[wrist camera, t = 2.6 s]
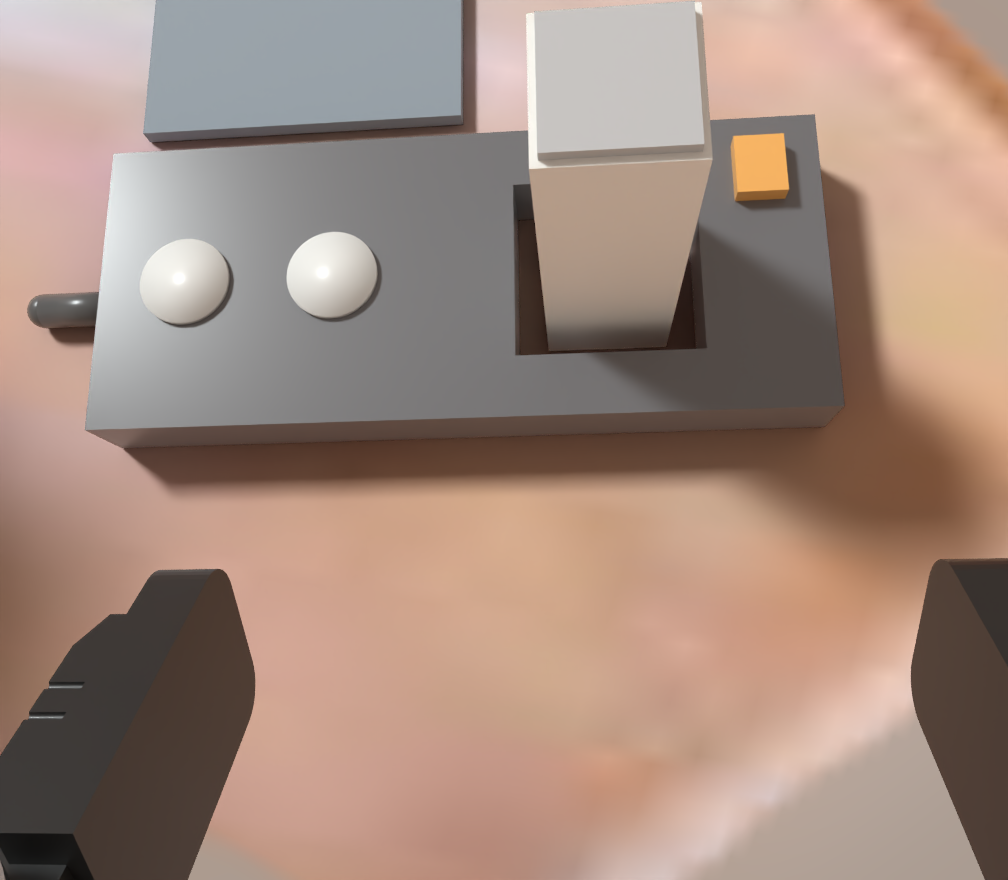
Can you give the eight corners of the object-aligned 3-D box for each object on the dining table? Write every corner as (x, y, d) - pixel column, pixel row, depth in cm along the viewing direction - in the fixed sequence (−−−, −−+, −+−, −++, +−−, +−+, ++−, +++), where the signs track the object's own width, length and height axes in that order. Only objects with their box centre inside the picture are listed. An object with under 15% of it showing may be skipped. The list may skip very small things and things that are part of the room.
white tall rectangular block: (549, 351, 32) (527, 161, 20) (546, 244, 33) (525, 4, 21) (666, 346, 32) (714, 152, 20) (660, 239, 33) (702, -8, 21)
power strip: (23, 451, 33) (-33, 428, 30) (54, 194, 35) (4, 149, 32) (824, 426, 31) (849, 400, 28) (797, 155, 33) (819, 104, 30)
